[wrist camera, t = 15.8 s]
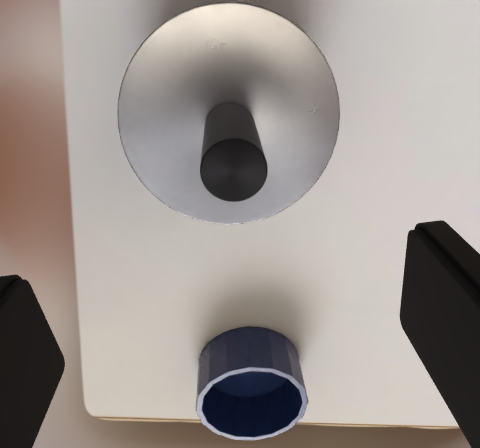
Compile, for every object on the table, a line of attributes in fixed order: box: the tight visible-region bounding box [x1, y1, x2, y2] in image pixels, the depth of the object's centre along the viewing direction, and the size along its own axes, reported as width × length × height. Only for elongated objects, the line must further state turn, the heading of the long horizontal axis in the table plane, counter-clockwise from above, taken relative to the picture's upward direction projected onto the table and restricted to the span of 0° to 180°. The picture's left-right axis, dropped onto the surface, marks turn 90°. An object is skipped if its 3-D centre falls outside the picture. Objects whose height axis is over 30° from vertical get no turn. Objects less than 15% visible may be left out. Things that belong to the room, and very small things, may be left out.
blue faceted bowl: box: [196, 327, 308, 440], centre depth 43 cm, size 11×11×5 cm
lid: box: [118, 2, 340, 224], centre depth 20 cm, size 12×12×8 cm
